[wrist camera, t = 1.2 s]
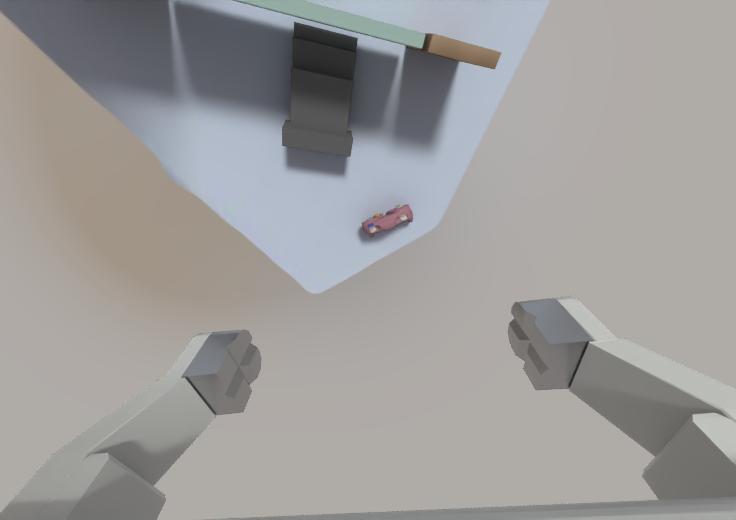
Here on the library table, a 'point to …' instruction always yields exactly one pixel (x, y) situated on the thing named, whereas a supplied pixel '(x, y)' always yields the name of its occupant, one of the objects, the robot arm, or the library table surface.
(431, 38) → the wall
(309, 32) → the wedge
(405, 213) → the video game controller
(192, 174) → the library table surface
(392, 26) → the green long flat panel
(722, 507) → the robot arm
